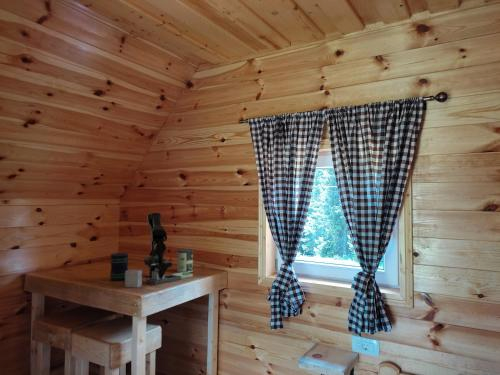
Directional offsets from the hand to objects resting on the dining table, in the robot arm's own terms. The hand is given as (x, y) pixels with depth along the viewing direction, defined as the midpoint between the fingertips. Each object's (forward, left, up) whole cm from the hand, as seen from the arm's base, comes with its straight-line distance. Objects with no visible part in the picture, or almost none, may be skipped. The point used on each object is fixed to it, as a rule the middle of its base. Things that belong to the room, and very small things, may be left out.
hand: (158, 278), depth 209 cm
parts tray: (-2, +19, -2) cm, 19 cm away
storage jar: (-23, -11, -3) cm, 26 cm away
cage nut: (0, 0, -3) cm, 3 cm away
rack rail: (0, +4, -2) cm, 5 cm away
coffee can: (-14, +31, -3) cm, 34 cm away
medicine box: (-2, -15, -3) cm, 15 cm away
